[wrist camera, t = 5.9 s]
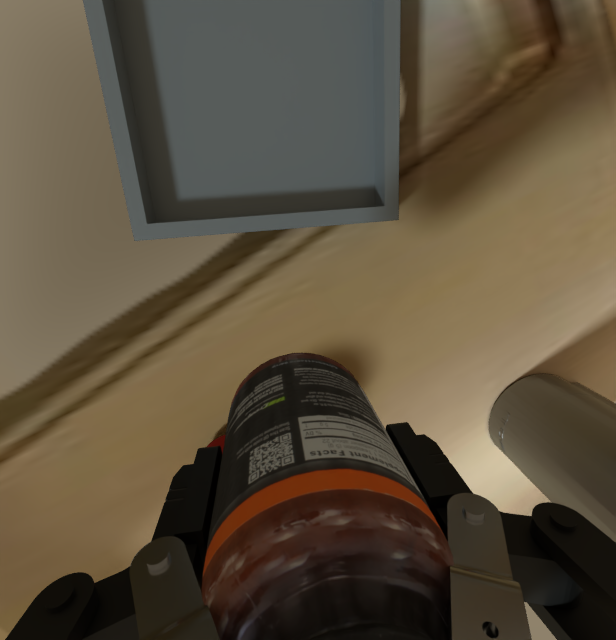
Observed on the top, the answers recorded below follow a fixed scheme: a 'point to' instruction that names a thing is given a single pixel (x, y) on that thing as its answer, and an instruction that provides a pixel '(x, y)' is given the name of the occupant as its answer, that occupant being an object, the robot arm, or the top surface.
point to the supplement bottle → (319, 517)
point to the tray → (251, 111)
